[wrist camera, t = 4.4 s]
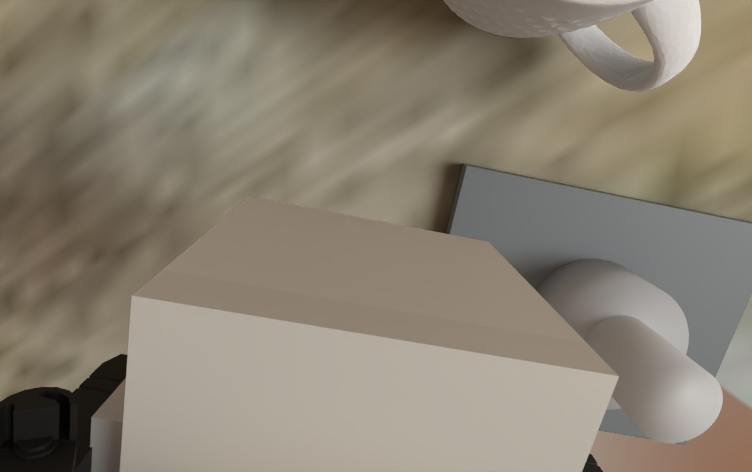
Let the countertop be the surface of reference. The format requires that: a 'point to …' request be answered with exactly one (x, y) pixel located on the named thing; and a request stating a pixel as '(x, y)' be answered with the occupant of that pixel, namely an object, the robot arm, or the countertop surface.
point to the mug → (598, 32)
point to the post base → (623, 237)
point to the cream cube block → (352, 355)
